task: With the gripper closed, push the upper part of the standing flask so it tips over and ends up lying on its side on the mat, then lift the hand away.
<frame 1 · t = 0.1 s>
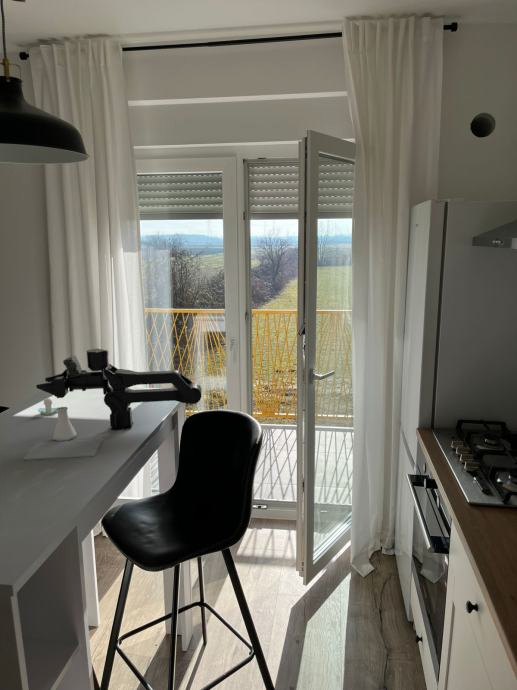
hand: (41, 382, 176), 17 cm above the kitchen island, tool horizontal, fingers open, 9 cm apart
flask: (64, 438, 172), on the kitchen island
pacifier: (50, 414, 198), on the kitchen island
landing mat: (65, 449, 161), on the kitchen island
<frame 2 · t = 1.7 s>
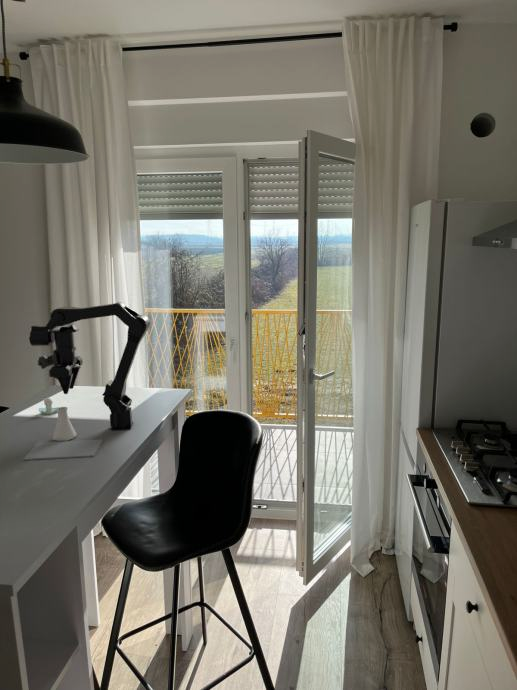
hand: (68, 391, 178), 13 cm above the kitchen island, tool pointing down, fingers open, 6 cm apart
nothing on the kitchen island moved.
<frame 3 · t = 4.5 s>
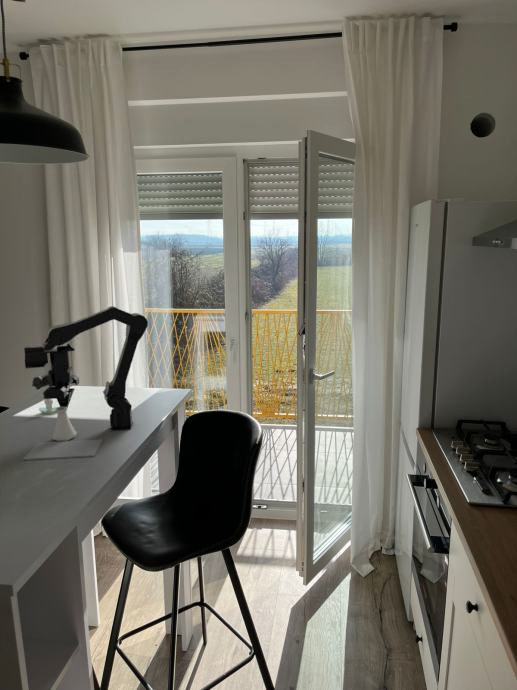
hand: (64, 412, 173), 8 cm above the kitchen island, tool pointing down, fingers closed
flask: (64, 437, 172), on the kitchen island, touching gripper
everything else where it was.
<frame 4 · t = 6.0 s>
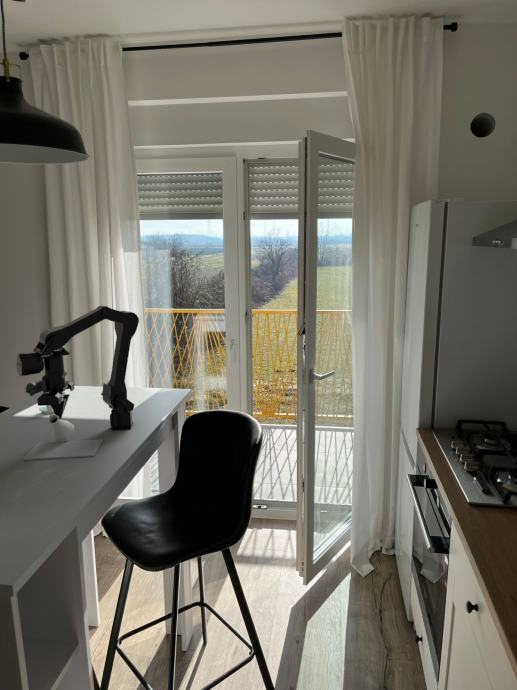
hand: (59, 419, 167), 8 cm above the kitchen island, tool pointing down, fingers closed
flask: (63, 431, 170), point 2 cm above the kitchen island
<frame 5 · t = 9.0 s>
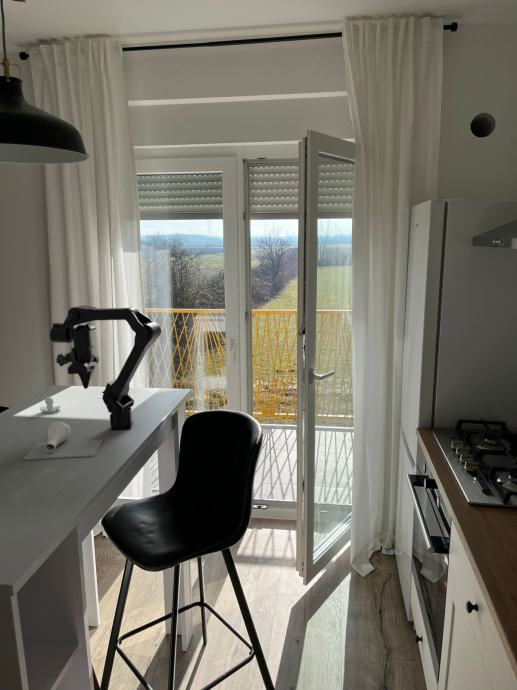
hand: (86, 388, 182), 13 cm above the kitchen island, tool pointing down, fingers closed
flask: (59, 430, 167), point 4 cm above the kitchen island, touching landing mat
at the end: flask tilted 101°; flask touching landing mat; the gripper is holding nothing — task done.
